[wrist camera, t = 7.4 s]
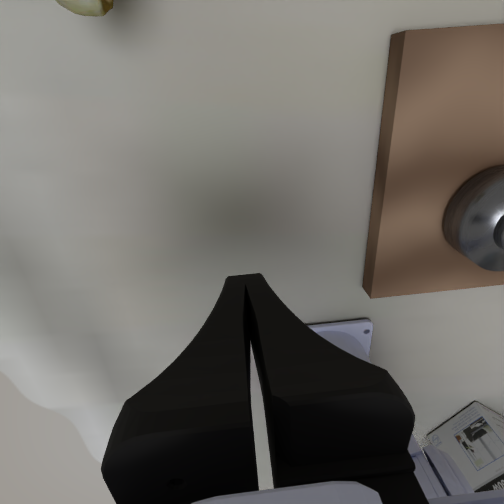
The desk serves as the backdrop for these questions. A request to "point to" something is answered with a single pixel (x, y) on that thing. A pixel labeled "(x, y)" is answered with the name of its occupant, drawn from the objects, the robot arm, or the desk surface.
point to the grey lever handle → (479, 220)
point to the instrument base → (433, 155)
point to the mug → (87, 6)
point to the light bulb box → (475, 446)
